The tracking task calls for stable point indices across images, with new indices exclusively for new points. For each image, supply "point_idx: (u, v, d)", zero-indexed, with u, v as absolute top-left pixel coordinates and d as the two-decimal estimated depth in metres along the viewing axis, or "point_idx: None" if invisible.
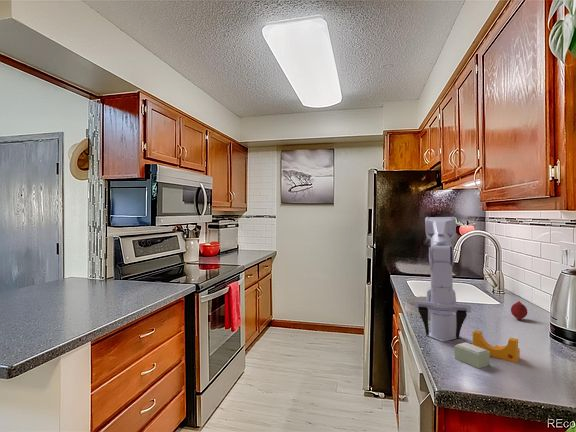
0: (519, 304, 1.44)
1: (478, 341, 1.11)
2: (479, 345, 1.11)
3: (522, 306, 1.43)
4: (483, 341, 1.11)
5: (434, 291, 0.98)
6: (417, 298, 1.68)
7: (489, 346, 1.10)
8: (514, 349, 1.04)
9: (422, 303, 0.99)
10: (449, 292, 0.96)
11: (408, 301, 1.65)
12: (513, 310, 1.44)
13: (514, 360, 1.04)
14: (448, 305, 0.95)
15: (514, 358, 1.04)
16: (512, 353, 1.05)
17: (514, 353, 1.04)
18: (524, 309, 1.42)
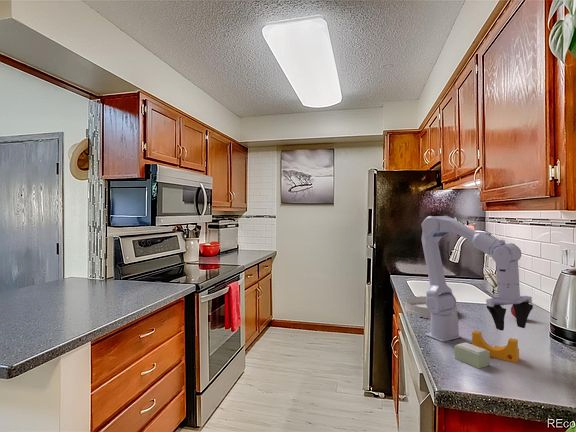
0: None
1: (477, 342, 1.11)
2: (479, 345, 1.11)
3: None
4: (482, 341, 1.11)
5: (508, 289, 1.03)
6: (417, 298, 1.68)
7: (489, 346, 1.10)
8: (514, 349, 1.04)
9: (498, 301, 1.03)
10: (519, 288, 1.04)
11: (408, 301, 1.65)
12: (513, 310, 1.44)
13: (514, 360, 1.04)
14: (521, 300, 1.03)
15: (514, 358, 1.04)
16: (512, 353, 1.04)
17: (514, 353, 1.04)
18: None
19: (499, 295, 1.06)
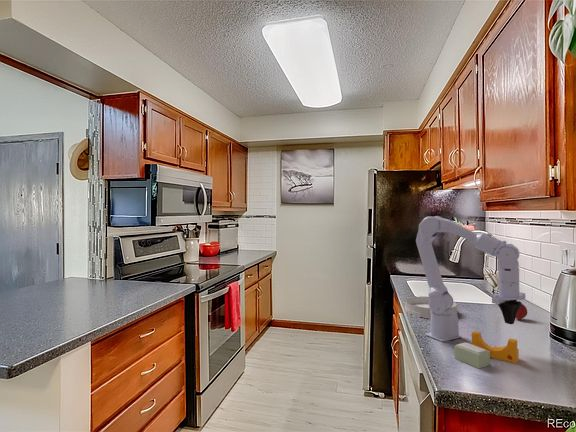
0: None
1: (477, 342, 1.11)
2: (478, 346, 1.10)
3: (522, 306, 1.43)
4: (482, 342, 1.10)
5: (512, 287, 1.10)
6: (417, 298, 1.68)
7: (488, 347, 1.09)
8: (514, 350, 1.04)
9: (503, 299, 1.09)
10: None
11: (408, 301, 1.65)
12: None
13: (513, 361, 1.04)
14: (520, 297, 1.11)
15: (513, 359, 1.04)
16: (511, 354, 1.04)
17: (514, 354, 1.04)
18: (524, 309, 1.42)
19: (501, 293, 1.12)
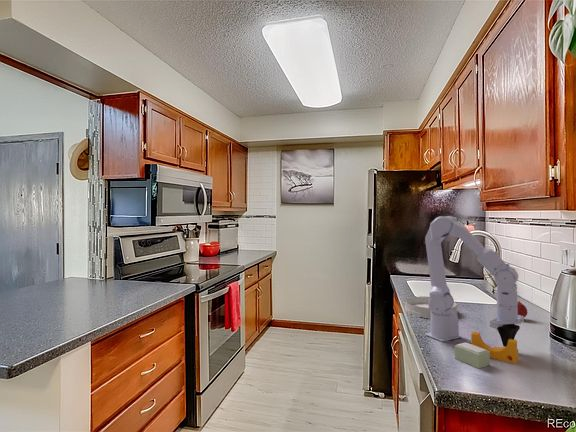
0: (519, 304, 1.44)
1: (477, 343, 1.10)
2: None
3: (522, 306, 1.43)
4: (482, 342, 1.10)
5: (510, 311, 1.10)
6: (417, 298, 1.68)
7: (488, 347, 1.09)
8: (513, 350, 1.03)
9: (501, 323, 1.09)
10: None
11: (408, 301, 1.65)
12: None
13: (513, 361, 1.03)
14: (518, 320, 1.11)
15: (513, 359, 1.03)
16: (511, 354, 1.04)
17: (513, 354, 1.03)
18: (524, 309, 1.42)
19: (499, 316, 1.12)
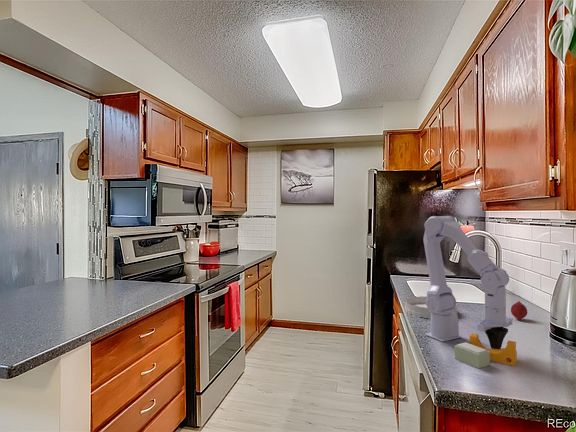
0: (519, 304, 1.44)
1: (475, 345, 1.08)
2: None
3: (522, 306, 1.43)
4: (480, 345, 1.08)
5: (498, 313, 1.07)
6: (417, 298, 1.68)
7: None
8: (513, 352, 1.02)
9: (489, 326, 1.06)
10: None
11: (408, 301, 1.65)
12: (513, 310, 1.44)
13: (513, 363, 1.02)
14: (507, 323, 1.08)
15: (513, 361, 1.02)
16: (511, 356, 1.02)
17: (513, 356, 1.02)
18: (524, 309, 1.42)
19: (487, 319, 1.09)
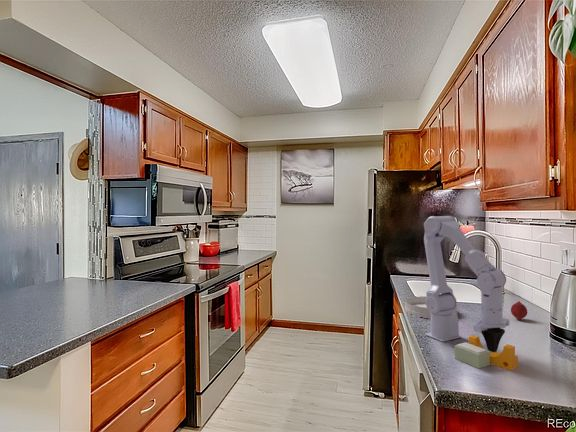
0: (519, 304, 1.44)
1: None
2: None
3: (522, 306, 1.43)
4: (479, 346, 1.07)
5: (494, 314, 1.06)
6: (417, 298, 1.68)
7: None
8: (509, 356, 0.99)
9: (485, 327, 1.06)
10: None
11: (408, 301, 1.65)
12: (513, 310, 1.44)
13: (509, 368, 0.99)
14: (503, 324, 1.07)
15: (509, 366, 0.99)
16: (507, 361, 0.99)
17: (509, 361, 0.99)
18: (524, 309, 1.42)
19: (484, 320, 1.08)
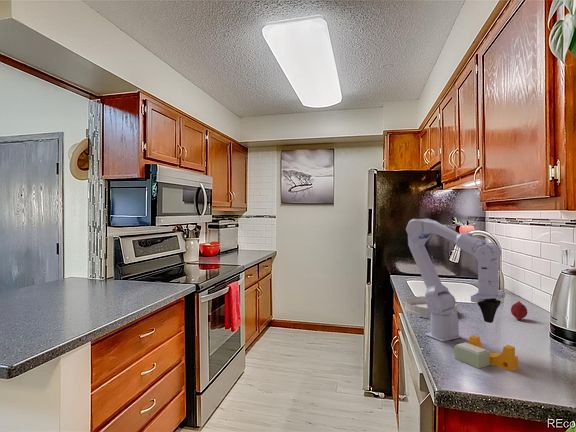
0: (519, 304, 1.44)
1: None
2: None
3: (522, 306, 1.43)
4: (480, 347, 1.07)
5: (490, 285, 1.10)
6: (418, 298, 1.68)
7: None
8: (509, 357, 0.99)
9: (482, 297, 1.09)
10: None
11: (408, 301, 1.65)
12: (513, 310, 1.44)
13: (509, 369, 0.99)
14: None
15: (509, 366, 0.99)
16: (507, 361, 0.99)
17: (509, 361, 0.99)
18: (524, 309, 1.42)
19: (480, 291, 1.12)
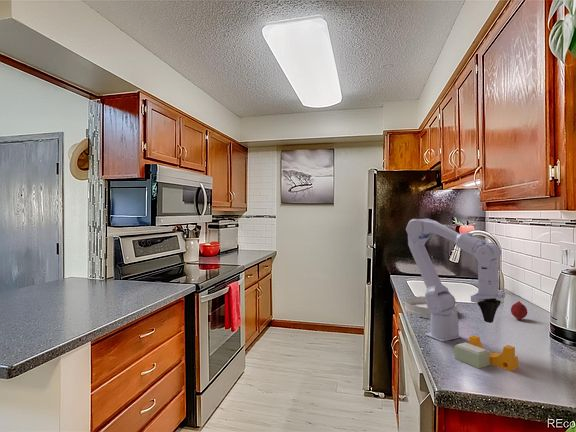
0: (519, 304, 1.44)
1: None
2: None
3: (522, 306, 1.43)
4: (480, 347, 1.07)
5: (490, 285, 1.10)
6: (418, 298, 1.68)
7: None
8: (509, 357, 0.99)
9: (482, 297, 1.09)
10: None
11: (408, 301, 1.65)
12: (513, 310, 1.44)
13: (509, 369, 0.99)
14: None
15: (509, 367, 0.99)
16: (507, 361, 0.99)
17: (509, 361, 0.99)
18: (524, 309, 1.42)
19: (480, 291, 1.12)
